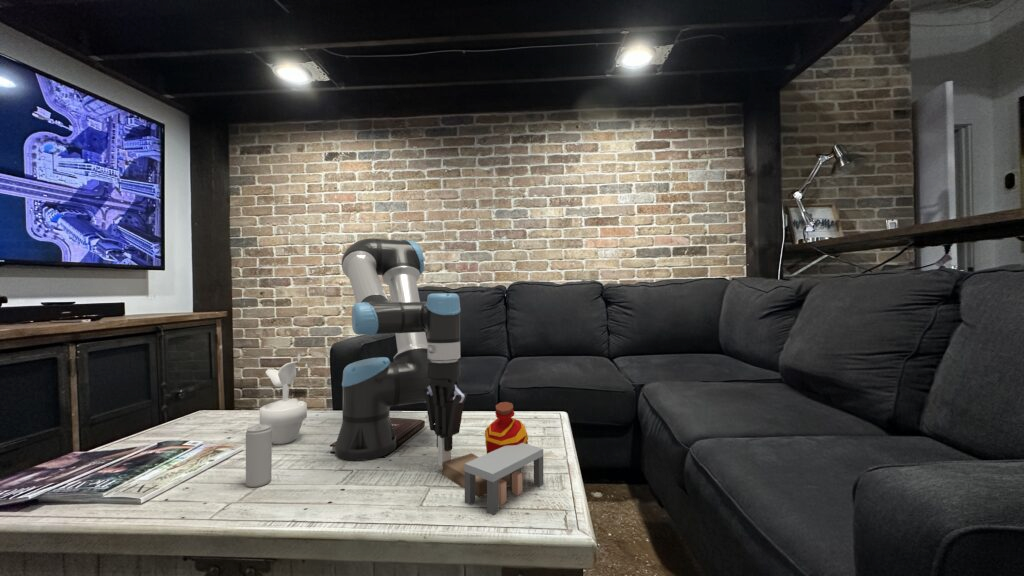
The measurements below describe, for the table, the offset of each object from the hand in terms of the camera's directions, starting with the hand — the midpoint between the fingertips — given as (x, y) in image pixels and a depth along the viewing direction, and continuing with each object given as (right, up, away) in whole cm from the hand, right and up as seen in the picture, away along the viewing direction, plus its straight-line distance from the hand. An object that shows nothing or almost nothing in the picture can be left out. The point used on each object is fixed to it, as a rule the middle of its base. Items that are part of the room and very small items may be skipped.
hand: (444, 463), depth 95 cm
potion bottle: (+15, -1, +2) cm, 15 cm away
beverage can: (-39, -2, -5) cm, 40 cm away
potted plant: (-49, -3, +21) cm, 53 cm away
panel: (+7, -2, -4) cm, 9 cm away
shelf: (+14, -2, -10) cm, 17 cm away
